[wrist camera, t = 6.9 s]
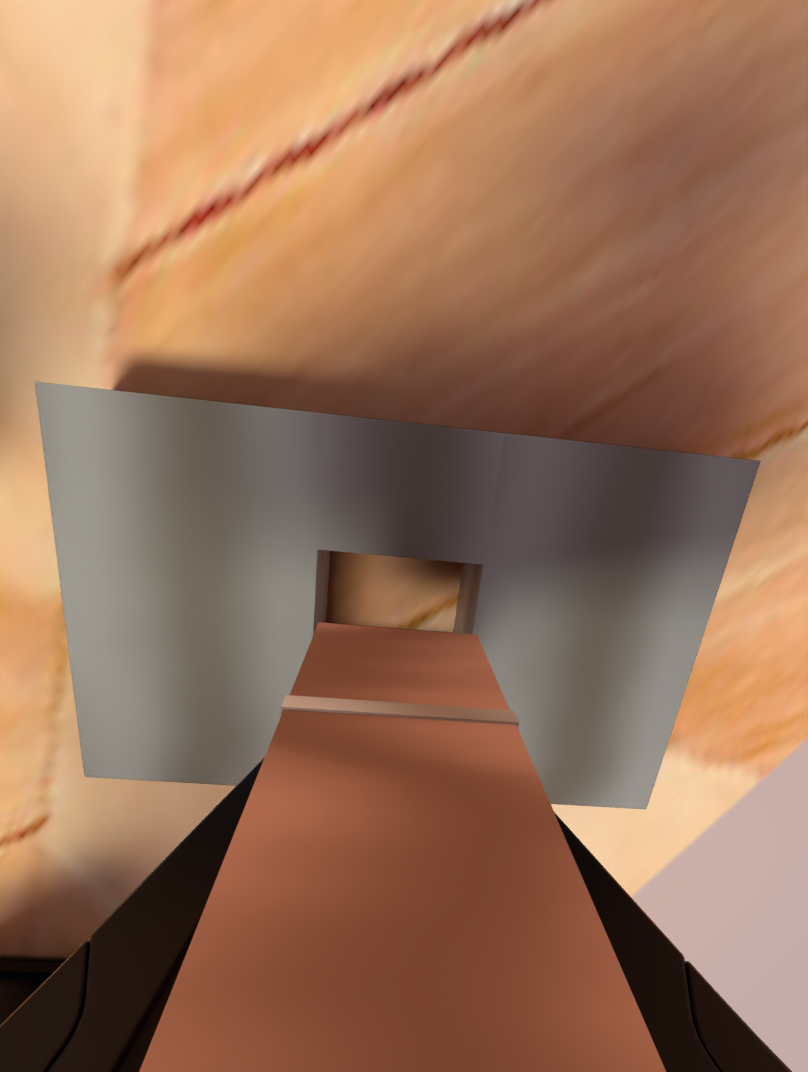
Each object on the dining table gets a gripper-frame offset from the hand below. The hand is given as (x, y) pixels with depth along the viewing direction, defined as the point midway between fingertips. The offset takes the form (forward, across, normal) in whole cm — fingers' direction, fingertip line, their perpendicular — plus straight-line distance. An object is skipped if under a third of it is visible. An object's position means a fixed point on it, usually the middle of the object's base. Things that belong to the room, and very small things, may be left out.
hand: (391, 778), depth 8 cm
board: (+9, 0, 0) cm, 9 cm away
